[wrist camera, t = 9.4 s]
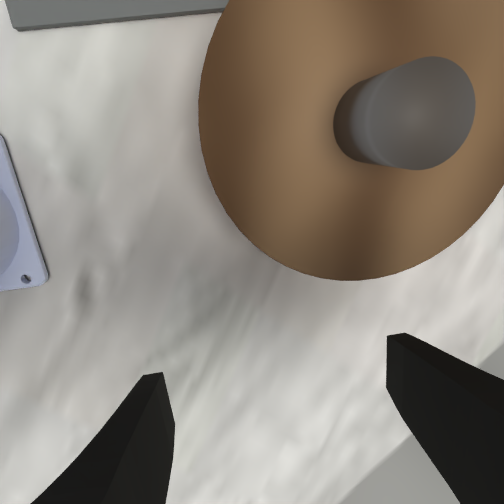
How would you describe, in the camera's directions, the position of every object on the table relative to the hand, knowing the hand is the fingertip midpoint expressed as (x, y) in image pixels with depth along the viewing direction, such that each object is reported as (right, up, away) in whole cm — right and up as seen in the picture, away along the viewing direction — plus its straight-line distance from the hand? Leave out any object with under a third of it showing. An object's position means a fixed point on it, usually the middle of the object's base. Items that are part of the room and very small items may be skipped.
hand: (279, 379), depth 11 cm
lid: (+4, +9, +3) cm, 10 cm away
